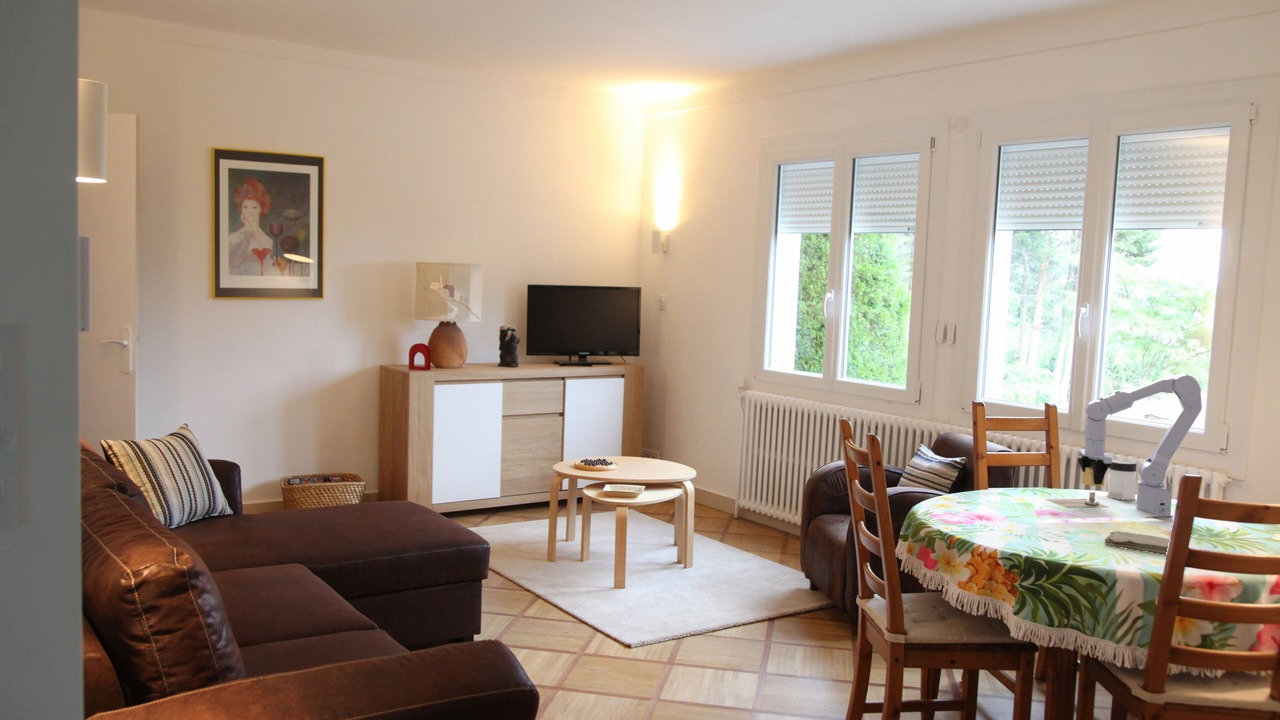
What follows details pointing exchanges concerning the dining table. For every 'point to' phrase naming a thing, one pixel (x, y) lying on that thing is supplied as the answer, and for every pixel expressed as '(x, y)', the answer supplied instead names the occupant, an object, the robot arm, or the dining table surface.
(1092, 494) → the stud
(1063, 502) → the board
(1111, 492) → the jar
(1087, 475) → the yellow socket block
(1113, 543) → the washcloth
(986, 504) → the dining table surface
